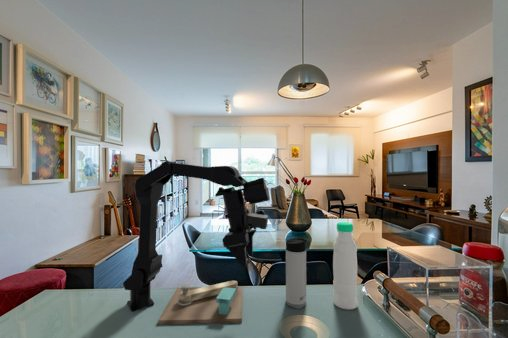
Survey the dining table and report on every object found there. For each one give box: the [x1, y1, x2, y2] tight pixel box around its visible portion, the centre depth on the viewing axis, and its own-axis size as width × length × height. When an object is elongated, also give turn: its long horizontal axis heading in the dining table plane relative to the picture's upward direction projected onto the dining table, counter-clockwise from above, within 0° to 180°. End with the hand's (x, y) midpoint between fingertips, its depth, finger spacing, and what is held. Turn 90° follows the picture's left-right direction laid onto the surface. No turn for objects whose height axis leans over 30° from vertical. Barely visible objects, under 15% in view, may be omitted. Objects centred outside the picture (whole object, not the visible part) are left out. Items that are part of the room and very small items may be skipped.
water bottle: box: [332, 221, 359, 311], centre depth 78 cm, size 7×7×25 cm
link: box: [179, 280, 238, 304], centre depth 81 cm, size 20×4×4 cm, turn 119°
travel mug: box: [285, 237, 308, 309], centre depth 78 cm, size 6×7×20 cm
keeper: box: [178, 287, 236, 315], centre depth 75 cm, size 18×7×4 cm, turn 79°
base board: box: [157, 286, 244, 325], centre depth 78 cm, size 22×19×1 cm
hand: (248, 261), depth 72 cm, fingers open, 9 cm apart
